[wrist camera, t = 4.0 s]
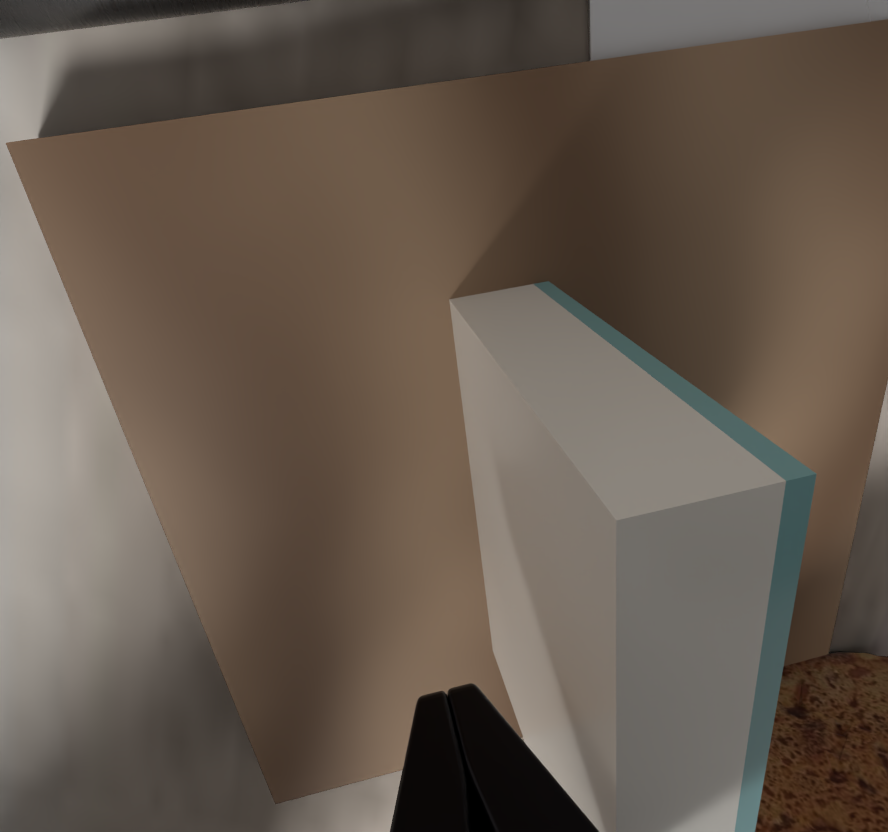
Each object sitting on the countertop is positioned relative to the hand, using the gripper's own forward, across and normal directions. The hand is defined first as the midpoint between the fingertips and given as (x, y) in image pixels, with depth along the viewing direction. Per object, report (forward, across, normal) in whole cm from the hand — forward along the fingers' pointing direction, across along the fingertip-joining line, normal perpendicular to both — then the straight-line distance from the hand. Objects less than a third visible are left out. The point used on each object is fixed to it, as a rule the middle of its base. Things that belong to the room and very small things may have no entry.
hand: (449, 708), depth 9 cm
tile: (+5, -2, 0) cm, 5 cm away
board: (+6, -3, 0) cm, 7 cm away
